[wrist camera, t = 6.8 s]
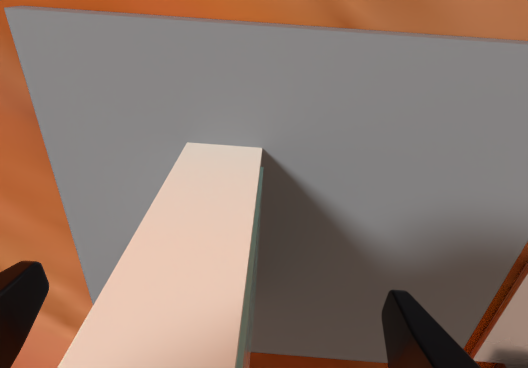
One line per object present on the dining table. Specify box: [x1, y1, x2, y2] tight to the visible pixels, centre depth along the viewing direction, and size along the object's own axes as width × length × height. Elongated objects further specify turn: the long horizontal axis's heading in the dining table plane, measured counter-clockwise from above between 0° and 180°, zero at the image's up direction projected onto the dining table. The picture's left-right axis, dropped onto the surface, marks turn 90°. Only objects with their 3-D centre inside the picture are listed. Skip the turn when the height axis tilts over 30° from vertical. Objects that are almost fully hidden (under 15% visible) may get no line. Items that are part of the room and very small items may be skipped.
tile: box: [58, 142, 264, 368], centre depth 8 cm, size 6×2×7 cm, turn 177°
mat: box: [4, 6, 528, 363], centre depth 11 cm, size 12×14×1 cm
